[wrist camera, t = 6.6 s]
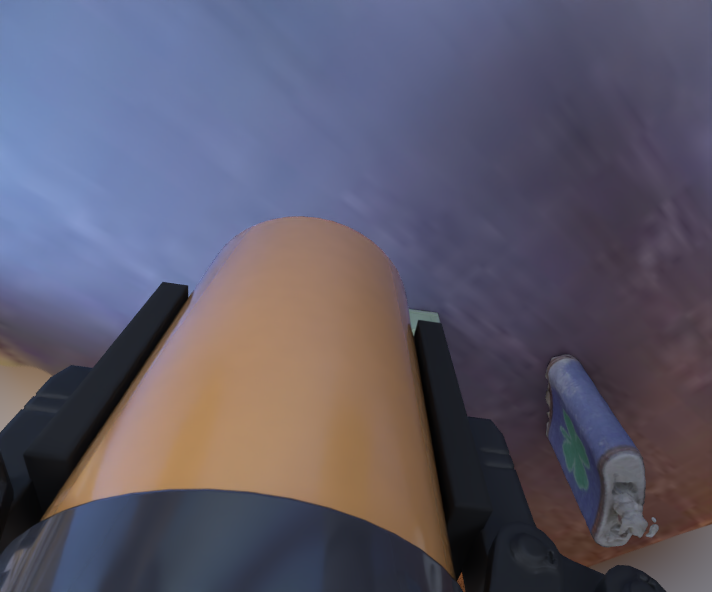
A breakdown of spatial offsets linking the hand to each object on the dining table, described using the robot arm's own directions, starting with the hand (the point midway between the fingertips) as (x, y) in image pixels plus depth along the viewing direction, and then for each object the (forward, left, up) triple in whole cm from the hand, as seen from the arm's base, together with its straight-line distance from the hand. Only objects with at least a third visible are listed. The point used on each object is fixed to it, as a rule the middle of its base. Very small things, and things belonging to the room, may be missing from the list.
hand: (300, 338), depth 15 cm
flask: (-20, +13, -14) cm, 27 cm away
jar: (0, 0, -2) cm, 2 cm away
